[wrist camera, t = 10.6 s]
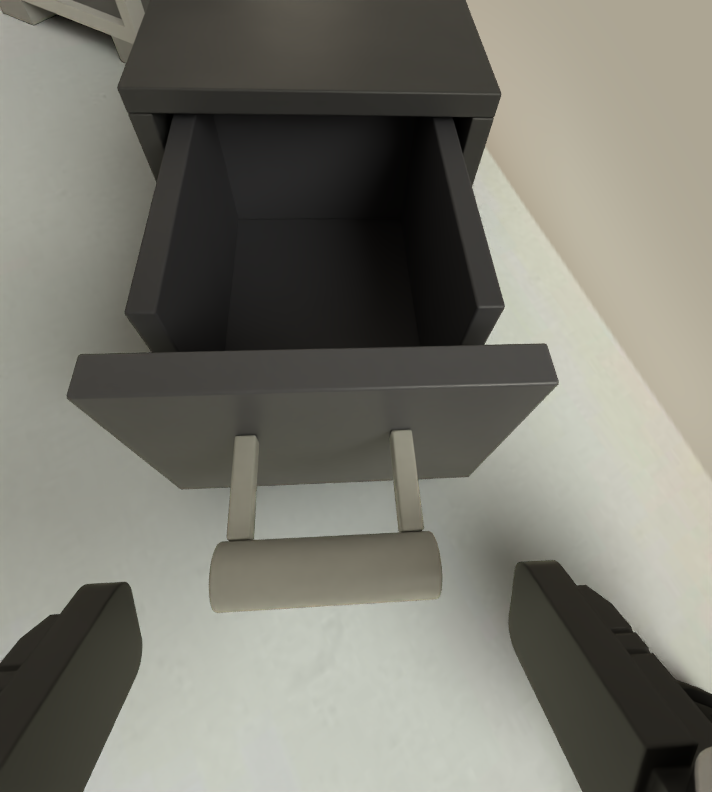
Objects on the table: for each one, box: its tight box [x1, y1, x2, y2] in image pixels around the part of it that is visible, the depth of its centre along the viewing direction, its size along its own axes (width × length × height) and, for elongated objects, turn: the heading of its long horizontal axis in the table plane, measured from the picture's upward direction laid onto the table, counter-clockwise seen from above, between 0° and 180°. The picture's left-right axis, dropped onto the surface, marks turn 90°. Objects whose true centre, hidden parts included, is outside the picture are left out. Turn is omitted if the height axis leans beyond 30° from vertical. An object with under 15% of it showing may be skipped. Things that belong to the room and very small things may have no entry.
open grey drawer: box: [67, 113, 559, 613], centre depth 15 cm, size 19×11×8 cm, turn 3°
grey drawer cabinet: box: [117, 0, 501, 186], centre depth 22 cm, size 16×13×10 cm
